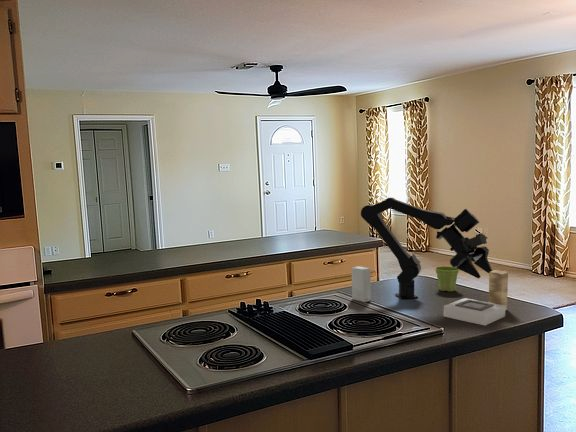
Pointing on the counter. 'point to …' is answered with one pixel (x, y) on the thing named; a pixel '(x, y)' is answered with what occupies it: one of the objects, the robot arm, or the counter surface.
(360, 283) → the skincare box
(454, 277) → the plant pot
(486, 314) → the socket block
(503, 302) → the peg
